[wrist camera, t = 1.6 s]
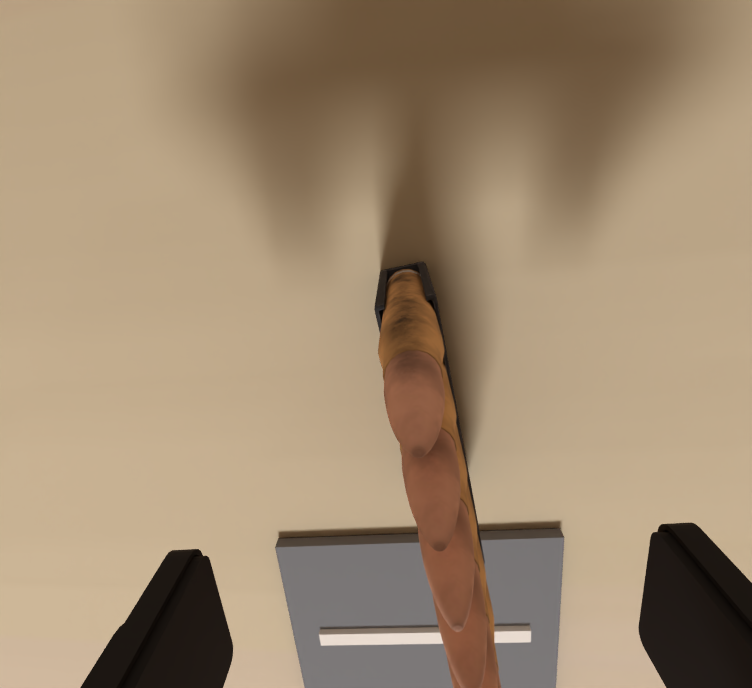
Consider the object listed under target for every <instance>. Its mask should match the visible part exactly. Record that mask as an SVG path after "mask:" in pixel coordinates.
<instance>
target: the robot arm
mask: <svg viewBox="0 0 752 688" xmlns="http://www.w3.org/2000/svg"><path fill="white" fill-rule="evenodd" d="M639 635H640V638H641V641H642V644H643V646H644V648H645V650H646V652H647V654H648V656H649V657H650V659H651V661H652V663H653V665H654V666H655V668H656V670H657V672H658V673H659V675H660V677H661V679H662V680H663V682H664V684H665V686H666V688H752V583H751V582H750V581H749V580H748V579H747V578H746V576H745V575H744V574H743V573H742V572H741V571H740V570H739V569H738V568H737V567H736V566H735V565H734V564H733V563H732V562H731V560H730V559H729V558H728V557H727V556H726V555H725V554H724V553H723V552H722V551H721V550H720V549H719V548H718V547H717V546H716V544H715V543H714V542H713V541H712V540H711V539H710V538H709V537H708V536H707V535H706V534H705V533H704V532H703V531H702V530H701V529H700V528H699V527H698V526H697V525H696V524H694V523H676V524H661V525H660V526H659V528H658V532H654V533H652V535H651V539H650V546H649V554H648V561H647V569H646V576H645V583H644V591H643V598H642V606H641V613H640V621H639ZM232 656H233V644H232V639H231V636H230V632H229V629H228V625H227V621H226V618H225V614H224V610H223V607H222V603H221V599H220V596H219V592H218V588H217V585H216V581H215V578H214V574H213V570H212V567H211V563H210V560H209V557H207V556H203V555H202V553H201V551H200V550H199V549H191V550H172V551H171V552H169V553H168V554H167V556H166V557H165V559H164V560H163V562H162V563H161V565H160V567H159V568H158V570H157V572H156V573H155V575H154V576H153V578H152V580H151V581H150V583H149V584H148V586H147V588H146V589H145V591H144V592H143V594H142V596H141V597H140V599H139V601H138V602H137V604H136V605H135V607H134V609H133V610H132V612H131V613H130V615H129V617H128V618H127V620H126V621H125V623H124V624H123V625H122V626H120V627H119V629H118V630H117V631H116V632H115V634H114V635H113V637H112V638H111V640H110V641H109V643H108V645H107V646H106V648H105V649H104V651H103V653H102V654H101V656H100V657H99V659H98V661H97V662H96V664H95V665H94V667H93V668H92V670H91V672H90V673H89V675H88V676H87V678H86V680H85V681H84V683H83V684H82V686H81V688H223V686H224V683H225V680H226V677H227V674H228V671H229V668H230V665H231V661H232Z"/></svg>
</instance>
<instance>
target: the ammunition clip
mask: <svg viewBox="0 0 752 688" xmlns="http://www.w3.org/2000/svg"><path fill="white" fill-rule="evenodd" d="M375 314H376V318H377V322H378V327H379V331H380V340H379V348H378V354H379V358H380V362H381V366H382V368H383V378H384V397H385V404H386V409H387V414H388V418H389V421H390V424H391V427H392V430H393V432H394V434H395V436H396V438H397V440H398V441H399V443H400V450H401V455H402V471H403V477H404V482H405V488H406V493H407V497H408V501H409V504H410V507H411V510H412V513H413V516H414V518H415V521H416V523H417V526H418V536H419V543H420V548H421V553H422V559H423V563H424V568H425V571H426V575H427V579H428V582H429V585H430V588H431V591H432V594H433V601H434V606H435V611H436V616H437V621H438V626H439V630H440V634H441V638H442V641H443V645H444V648H445V651H446V655H447V661H448V666H449V670H450V675H451V680H452V684H453V688H501V684H500V678H499V673H498V671H499V667H498V661H497V655H496V649H495V643H494V615H493V609H492V604H491V600H490V595H489V590H488V586H487V581H486V572H485V566H484V564H485V559H484V554H483V548H482V543H481V537H480V532H479V526H478V521H477V516H476V510H475V505H474V499H473V494H472V488H471V483H470V477H469V472H468V467H467V461H466V456H465V450H464V445H463V439H462V434H461V429H460V423H459V418H458V412H457V407H456V401H455V396H454V390H453V385H452V380H451V374H450V369H449V363H448V358H447V352H446V347H445V342H444V336H443V331H442V325H441V320H440V314H439V309H438V303H437V298H436V294H435V291H434V288H433V285H432V282H431V279H430V276H429V273H428V270H427V267H426V264H425V263H424V262H418V263H414V264H409V265H405V266H400V267H395V268H391V269H386V270H382V271H381V272H380V277H379V283H378V289H377V296H376V302H375Z"/></svg>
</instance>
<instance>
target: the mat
mask: <svg viewBox="0 0 752 688" xmlns="http://www.w3.org/2000/svg"><path fill="white" fill-rule="evenodd" d="M479 532H480V537H481V543H482V548H483V554H484V559H485V564H484V566H485V572H486V581H487V586H488V590H489V595H490V600H491V604H492V609H493V615H494V643H495V649H496V655H497V661H498V667H499V671H498V673H499V678H500V684H501V688H556V676H557V658H558V640H559V622H560V604H561V586H562V568H563V550H564V536H563V534H562V532H561V530H560V528H554V529H526V530H498V531H479ZM275 549H276V553H277V558H278V563H279V568H280V572H281V577H282V582H283V587H284V591H285V596H286V601H287V606H288V610H289V615H290V620H291V625H292V629H293V634H294V639H295V644H296V648H297V653H298V658H299V663H300V667H301V672H302V677H303V682H304V686H305V688H453V684H452V680H451V675H450V670H449V666H448V661H447V655H446V651H445V648H444V645H443V641H442V638H441V634H440V630H439V626H438V621H437V616H436V611H435V606H434V601H433V594H432V591H431V588H430V585H429V582H428V579H427V575H426V571H425V568H424V563H423V559H422V553H421V548H420V543H419V536H418V533H415V534H388V535H360V536H332V537H305V538H278V541H277V544H276V547H275Z"/></svg>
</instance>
